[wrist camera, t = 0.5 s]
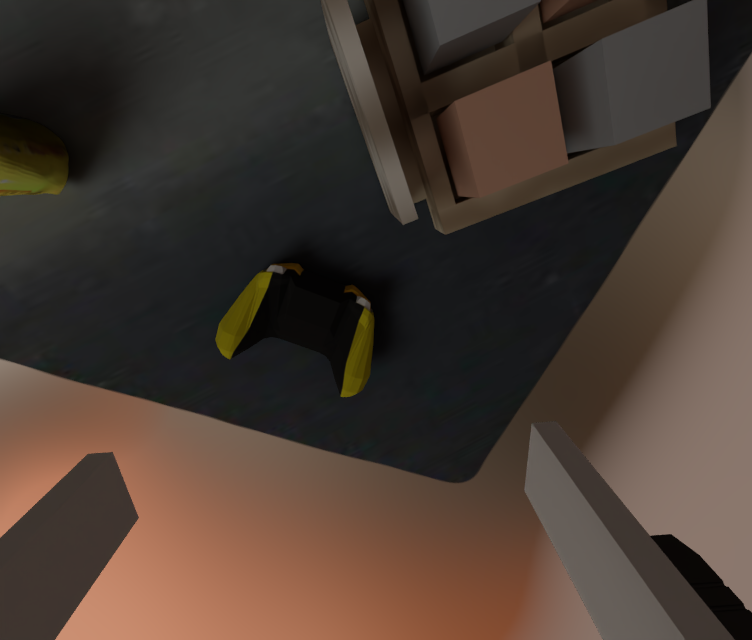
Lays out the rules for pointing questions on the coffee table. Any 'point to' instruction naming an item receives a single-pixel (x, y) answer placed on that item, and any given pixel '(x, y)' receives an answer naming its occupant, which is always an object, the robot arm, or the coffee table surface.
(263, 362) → the coffee table surface
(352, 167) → the coffee table surface
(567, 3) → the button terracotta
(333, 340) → the gaming controller
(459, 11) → the button grey front
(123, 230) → the coffee table surface
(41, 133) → the bottle
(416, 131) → the button board
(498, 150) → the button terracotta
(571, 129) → the button grey back
